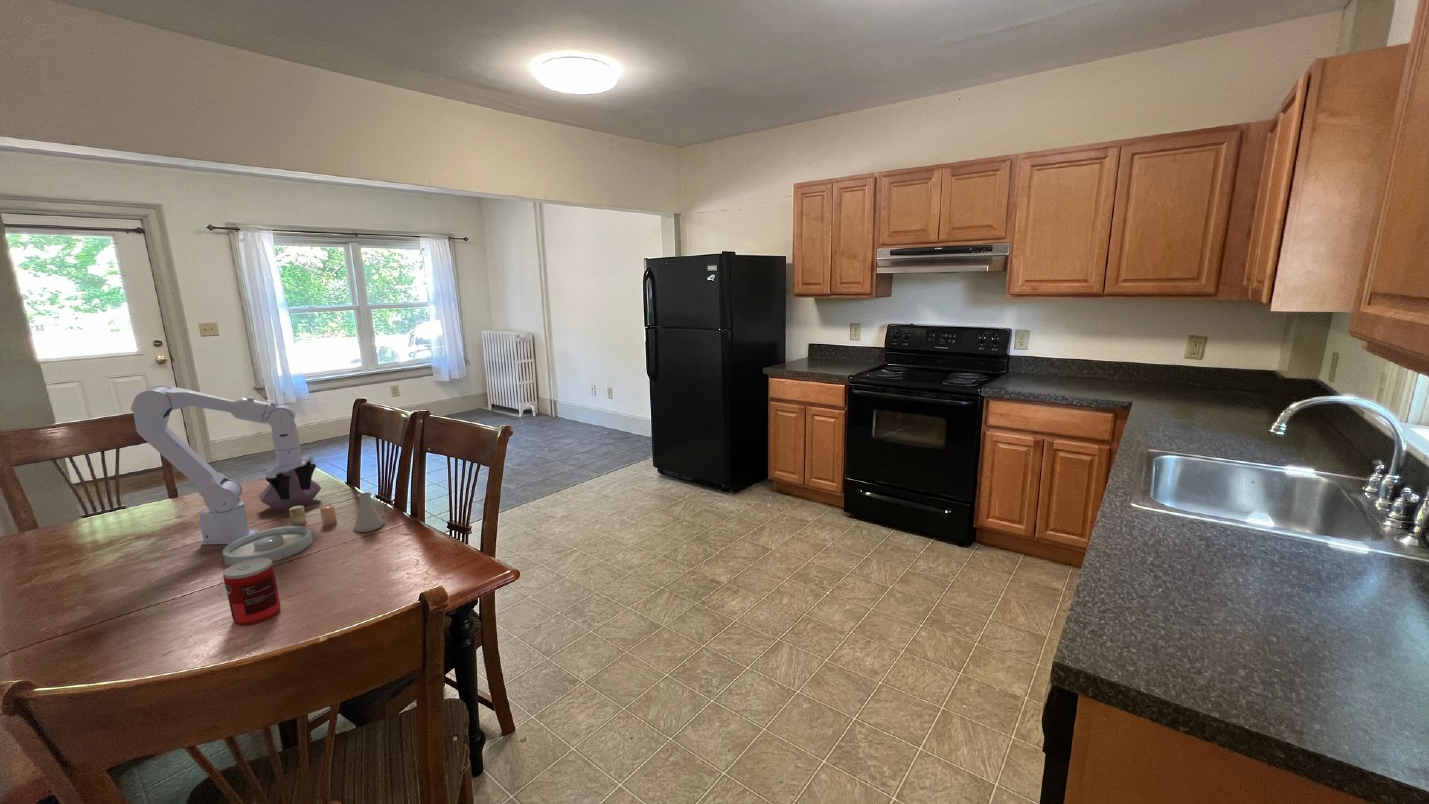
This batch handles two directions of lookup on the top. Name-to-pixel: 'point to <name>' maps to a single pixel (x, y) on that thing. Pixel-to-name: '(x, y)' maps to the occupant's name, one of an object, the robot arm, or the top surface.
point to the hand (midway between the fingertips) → (295, 494)
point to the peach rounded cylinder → (328, 515)
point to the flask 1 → (296, 494)
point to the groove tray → (268, 544)
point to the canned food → (252, 591)
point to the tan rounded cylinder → (297, 516)
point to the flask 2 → (367, 515)
